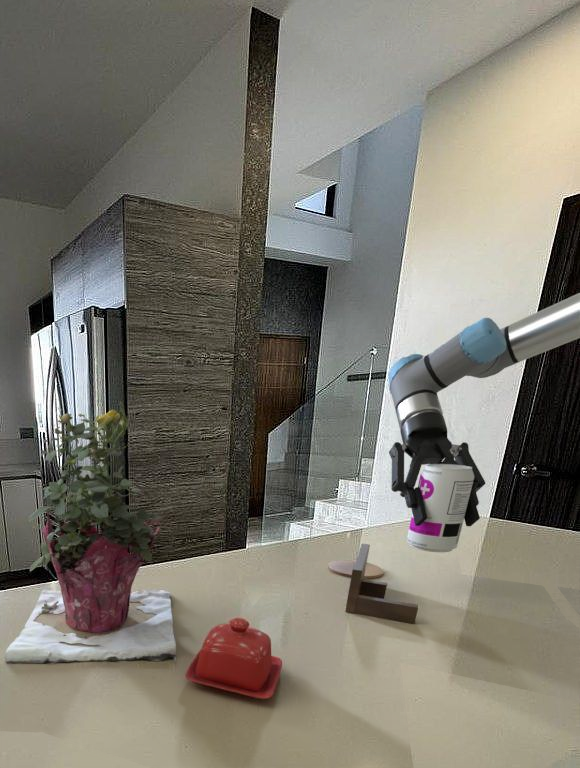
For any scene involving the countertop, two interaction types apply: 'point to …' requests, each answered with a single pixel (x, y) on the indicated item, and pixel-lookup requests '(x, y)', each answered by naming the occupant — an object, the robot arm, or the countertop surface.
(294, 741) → the countertop surface
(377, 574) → the cork coaster
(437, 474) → the supplement can
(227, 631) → the butter dish
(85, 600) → the potted flower
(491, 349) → the robot arm
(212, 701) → the countertop surface
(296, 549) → the countertop surface
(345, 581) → the countertop surface
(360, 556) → the dark wooden l-bracket
